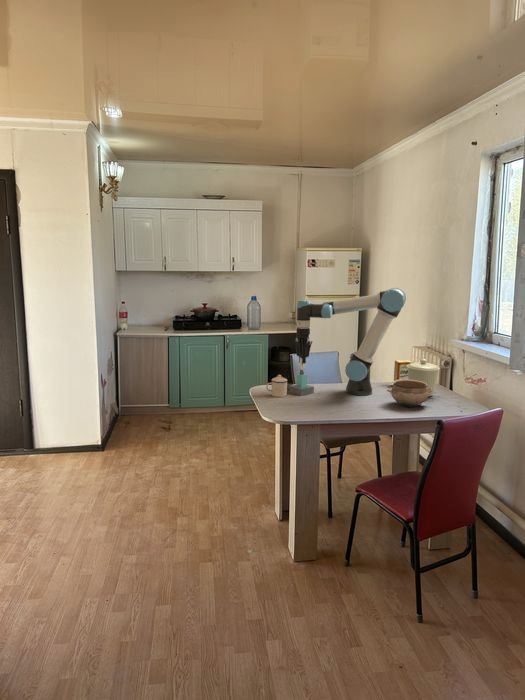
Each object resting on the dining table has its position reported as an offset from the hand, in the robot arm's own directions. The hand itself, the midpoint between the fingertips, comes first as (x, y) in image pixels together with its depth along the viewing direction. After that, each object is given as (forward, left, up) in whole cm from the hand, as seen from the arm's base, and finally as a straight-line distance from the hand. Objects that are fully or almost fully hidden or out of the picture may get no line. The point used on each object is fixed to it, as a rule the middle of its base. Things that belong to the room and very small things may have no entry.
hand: (302, 368), depth 295 cm
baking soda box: (-25, -62, -14) cm, 68 cm away
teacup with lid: (+4, +15, -14) cm, 21 cm away
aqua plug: (0, 0, -14) cm, 14 cm away
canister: (-44, -53, -14) cm, 70 cm away
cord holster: (+10, 0, -14) cm, 17 cm away
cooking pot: (-53, -28, -14) cm, 61 cm away
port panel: (0, 0, -14) cm, 14 cm away
